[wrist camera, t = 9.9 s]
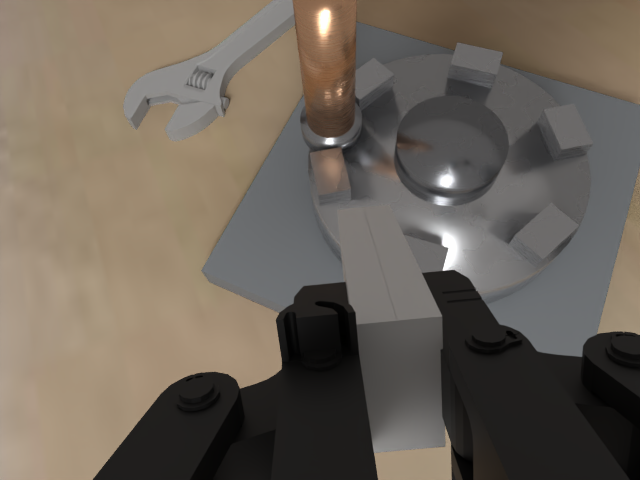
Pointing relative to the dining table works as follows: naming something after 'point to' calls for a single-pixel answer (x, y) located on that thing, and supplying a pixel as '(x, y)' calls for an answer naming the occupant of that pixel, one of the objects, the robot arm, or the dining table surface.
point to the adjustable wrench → (206, 75)
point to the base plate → (513, 311)
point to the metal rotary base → (441, 152)
